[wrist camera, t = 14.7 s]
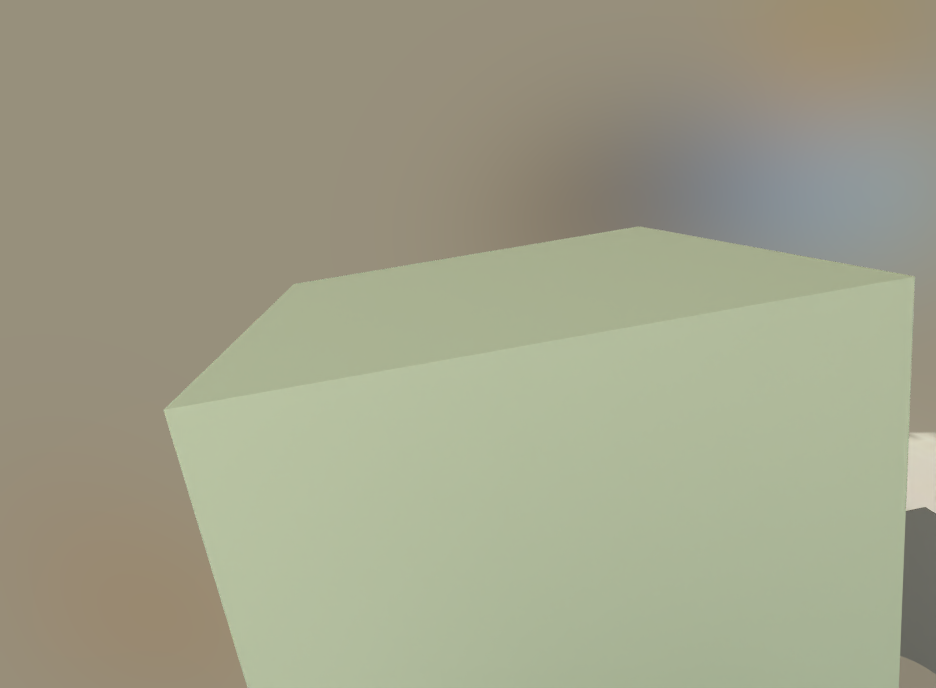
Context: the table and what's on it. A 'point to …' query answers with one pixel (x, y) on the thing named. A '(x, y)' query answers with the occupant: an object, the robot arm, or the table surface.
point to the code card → (919, 589)
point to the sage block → (563, 471)
